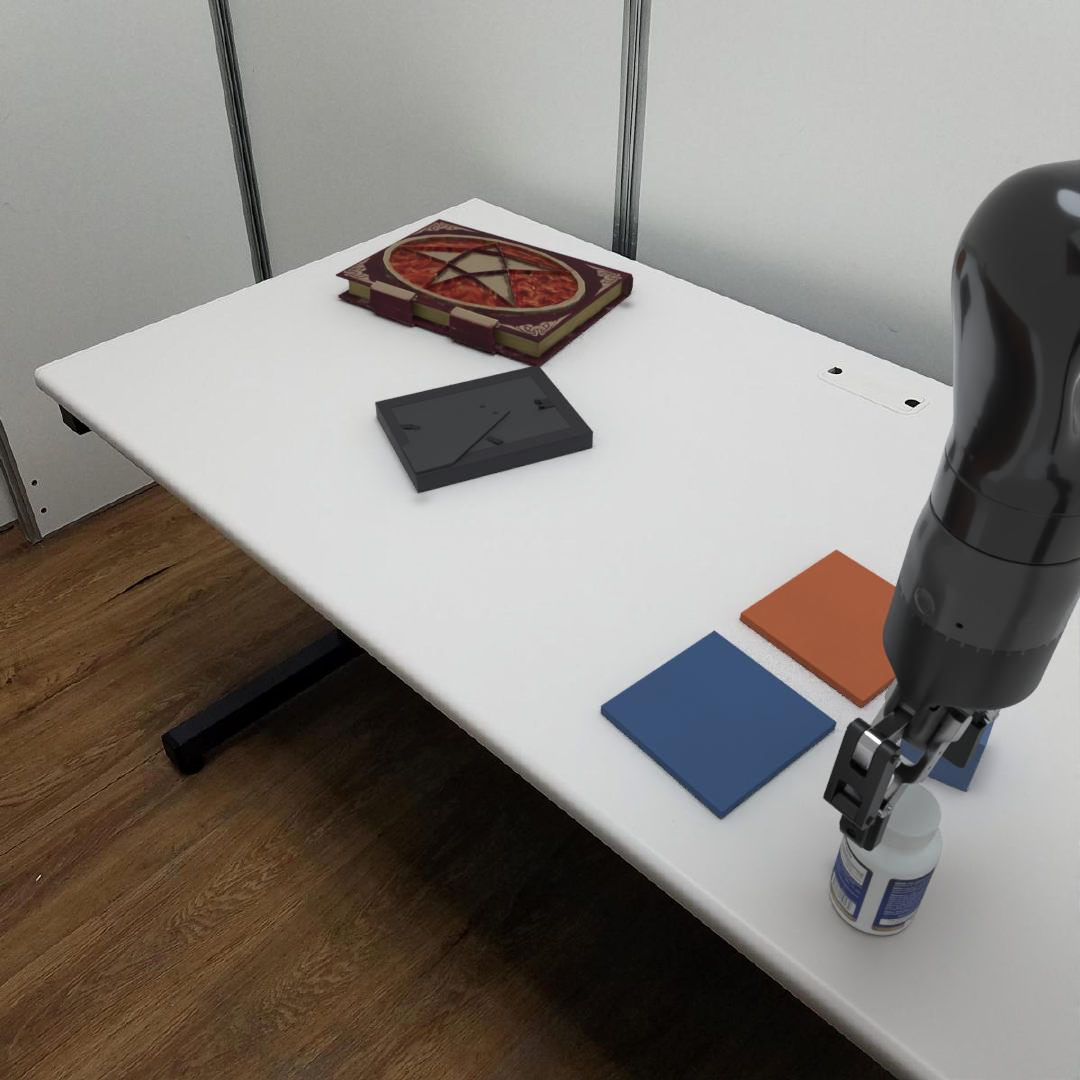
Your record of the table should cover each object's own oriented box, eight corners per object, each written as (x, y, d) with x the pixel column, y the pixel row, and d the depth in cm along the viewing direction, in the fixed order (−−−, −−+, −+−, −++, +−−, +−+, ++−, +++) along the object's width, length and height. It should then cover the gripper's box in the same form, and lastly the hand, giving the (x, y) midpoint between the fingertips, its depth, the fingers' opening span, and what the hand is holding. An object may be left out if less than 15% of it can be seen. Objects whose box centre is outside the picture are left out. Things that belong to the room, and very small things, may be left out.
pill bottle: (922, 879, 68) (961, 786, 61) (907, 951, 64) (946, 861, 58) (838, 848, 69) (867, 754, 63) (818, 917, 66) (847, 825, 59)
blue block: (983, 741, 76) (1003, 695, 73) (966, 792, 73) (986, 745, 69) (913, 714, 78) (929, 667, 75) (893, 762, 75) (909, 715, 71)
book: (632, 297, 127) (634, 257, 124) (534, 372, 114) (535, 330, 110) (442, 241, 139) (440, 204, 136) (334, 302, 126) (329, 263, 122)
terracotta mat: (956, 633, 84) (958, 626, 83) (861, 708, 78) (863, 701, 78) (834, 556, 91) (836, 548, 91) (739, 619, 85) (740, 612, 85)
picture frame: (417, 493, 98) (592, 447, 103) (416, 473, 96) (593, 428, 102) (376, 418, 107) (538, 379, 113) (374, 399, 106) (538, 361, 111)
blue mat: (835, 729, 77) (837, 721, 76) (720, 819, 71) (721, 812, 71) (713, 637, 84) (714, 629, 83) (600, 712, 78) (600, 705, 78)
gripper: (966, 713, 44) (882, 917, 54) (1140, 562, 50) (1035, 771, 61) (821, 612, 48) (770, 820, 59) (999, 486, 55) (924, 693, 65)
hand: (905, 795), depth 60 cm, fingers open, 8 cm apart
